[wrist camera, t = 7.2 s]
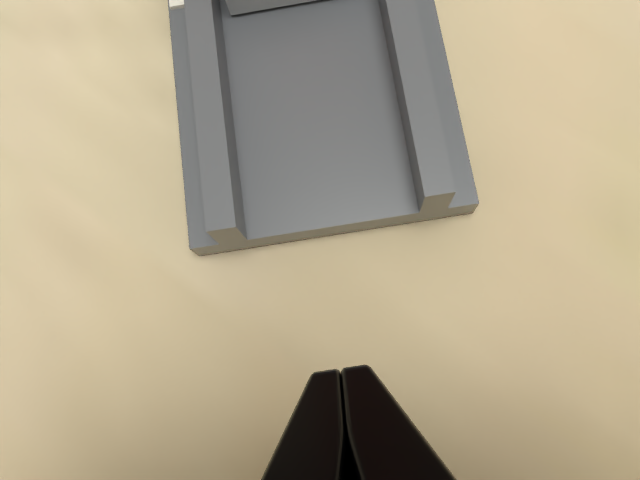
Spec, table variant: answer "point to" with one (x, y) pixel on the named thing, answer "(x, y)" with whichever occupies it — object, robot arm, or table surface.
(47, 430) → the table surface
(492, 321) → the table surface
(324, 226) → the track housing
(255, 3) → the tall terracotta column
